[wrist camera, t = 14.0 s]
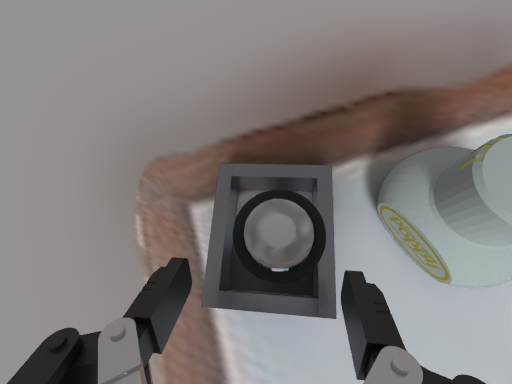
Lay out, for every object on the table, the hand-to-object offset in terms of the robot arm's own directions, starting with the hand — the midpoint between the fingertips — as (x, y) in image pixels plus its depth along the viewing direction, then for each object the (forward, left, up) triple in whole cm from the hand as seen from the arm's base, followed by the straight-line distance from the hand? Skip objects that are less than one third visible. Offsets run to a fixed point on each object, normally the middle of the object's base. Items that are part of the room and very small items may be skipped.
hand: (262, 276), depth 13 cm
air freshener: (-14, -6, -10) cm, 18 cm away
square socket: (0, -3, -10) cm, 10 cm away
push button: (-1, -3, -10) cm, 11 cm away
